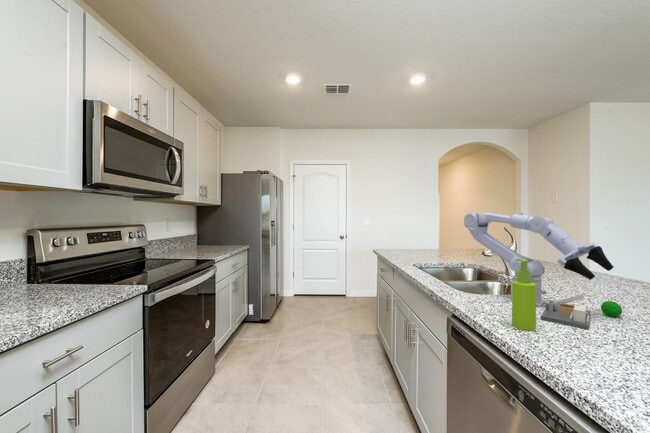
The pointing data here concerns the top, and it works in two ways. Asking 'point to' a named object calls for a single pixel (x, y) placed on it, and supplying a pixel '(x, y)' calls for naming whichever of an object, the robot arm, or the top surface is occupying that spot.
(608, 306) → the polyhedron
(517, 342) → the top surface
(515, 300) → the soap dispenser
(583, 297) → the grey flat bar
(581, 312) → the latch
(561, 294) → the top surface
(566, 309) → the mount board
